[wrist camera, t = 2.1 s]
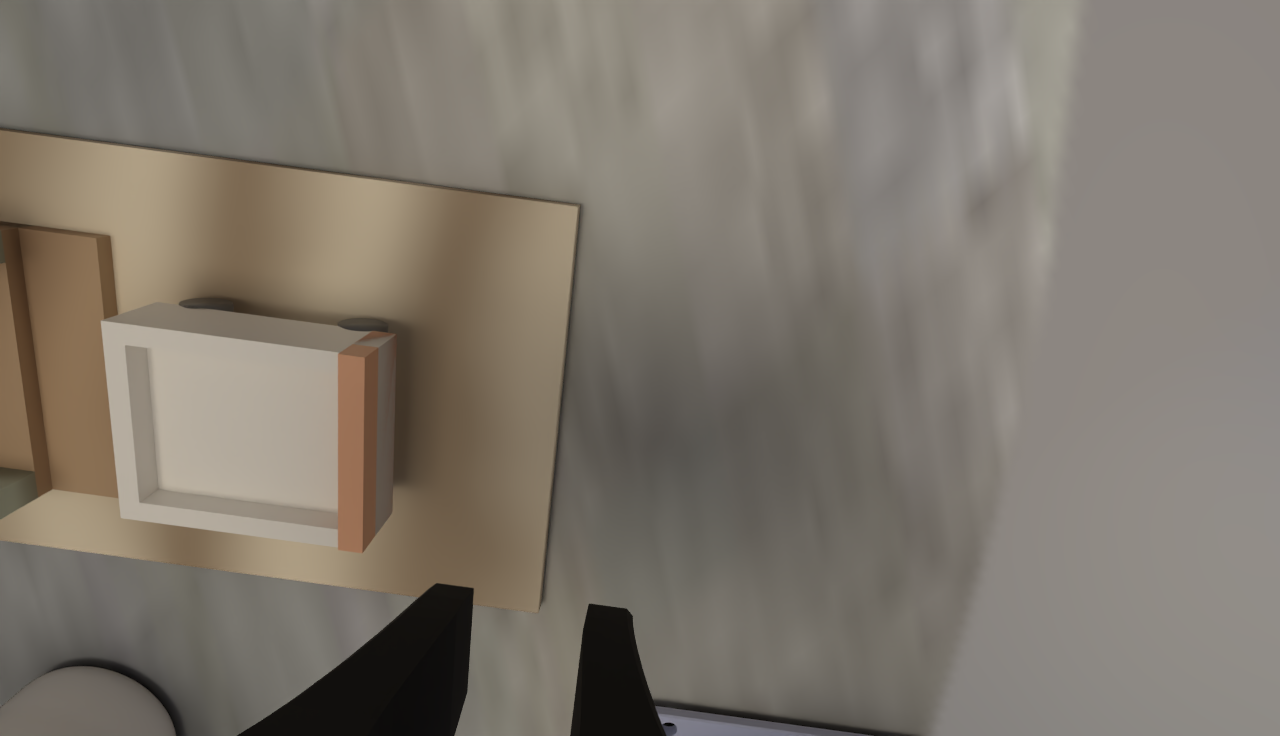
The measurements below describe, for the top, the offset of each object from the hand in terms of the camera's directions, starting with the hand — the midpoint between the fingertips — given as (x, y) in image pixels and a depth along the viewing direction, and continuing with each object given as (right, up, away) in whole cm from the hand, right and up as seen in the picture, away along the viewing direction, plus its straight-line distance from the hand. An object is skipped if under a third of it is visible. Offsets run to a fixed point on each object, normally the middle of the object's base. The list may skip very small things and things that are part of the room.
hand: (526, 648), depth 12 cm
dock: (-10, +4, +9) cm, 14 cm away
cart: (-7, +4, +8) cm, 12 cm away
